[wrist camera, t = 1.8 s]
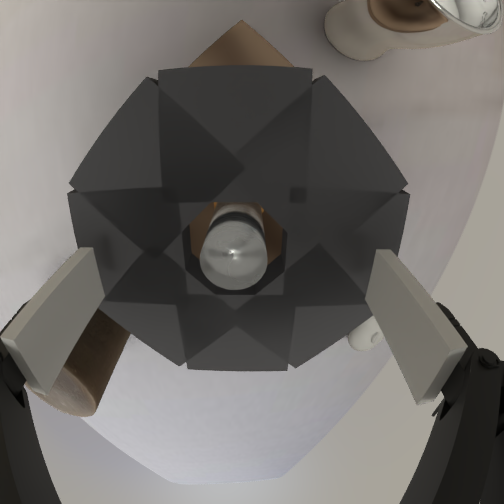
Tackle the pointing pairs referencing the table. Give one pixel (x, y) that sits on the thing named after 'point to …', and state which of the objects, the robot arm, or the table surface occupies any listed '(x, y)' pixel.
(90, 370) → the pillar candle
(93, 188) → the dark grey faceted disc
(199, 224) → the walnut base
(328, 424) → the table surface
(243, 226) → the steel post
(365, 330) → the smooth white sculpture
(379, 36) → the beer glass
